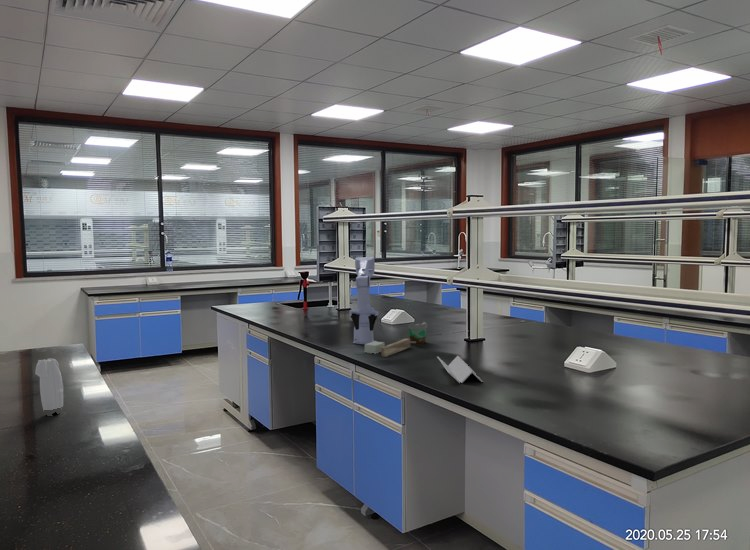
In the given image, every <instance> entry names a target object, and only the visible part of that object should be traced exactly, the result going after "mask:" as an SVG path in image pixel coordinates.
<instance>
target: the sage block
mask: <svg viewBox="0 0 750 550" xmlns="http://www.w3.org/2000/svg"><path fill="white" fill-rule="evenodd" d="M375 341H376V340H373V342H371V343H368V344H364V353H365V352H367V353H366V354H372V353H374V354H373V355H377V354H379V352H380V353H382V352H381V348H382V347H384V346H386V345H385V343H386V342H384V341H377V342H375ZM376 353H377V354H376Z"/></svg>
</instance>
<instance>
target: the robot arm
mask: <svg viewBox="0 0 750 550" xmlns="http://www.w3.org/2000/svg"><path fill="white" fill-rule="evenodd" d="M375 262H376V261H375V257H374V256H372V257H371V256H365V257H363V256H362V257H356V258H355V259H354V266H355V273H356V275H357V276H356V277H355V287H356V293H357V308H356V309H350V310H349V315H350V319H351V320H352V323H353V325H354V327H353V342H352V343H353V344H358V345H365V344H368V343H371V342H373V341H375V342H378V341H377V340H374V327H375V324H376V320H377V318H378V316H379V315H380V313H379V310H375V308H374V307H373V306H371V303H370V299H371V297H370V294H371V293H370V291H371V290H370V287H371V277H372V276H374V274H375V266H376V265H375Z"/></svg>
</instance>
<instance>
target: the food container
mask: <svg viewBox="0 0 750 550" xmlns="http://www.w3.org/2000/svg"><path fill="white" fill-rule="evenodd" d="M407 327H408V328H407V329H408V331H409V339H410V346H411V345H412V346H413V345H414V346H417V345H419V344H420V345H424V343H425V344H426V339H427V338H426V337H427V328H428V323H427V322H426V321H422V320H421V321H420V323H414V324H408V326H407ZM420 345H419V346H420Z"/></svg>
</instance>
